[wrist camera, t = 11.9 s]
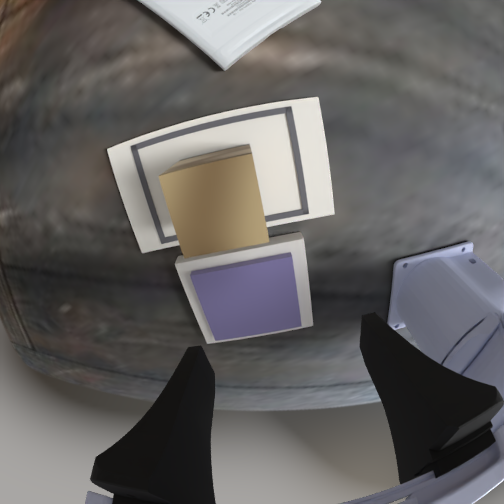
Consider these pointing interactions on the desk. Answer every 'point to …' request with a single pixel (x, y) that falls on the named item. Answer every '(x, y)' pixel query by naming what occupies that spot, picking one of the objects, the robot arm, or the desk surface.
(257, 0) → the external hard drive
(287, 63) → the desk surface
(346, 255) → the desk surface
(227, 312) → the ink pad
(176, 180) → the stamp
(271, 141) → the print card
